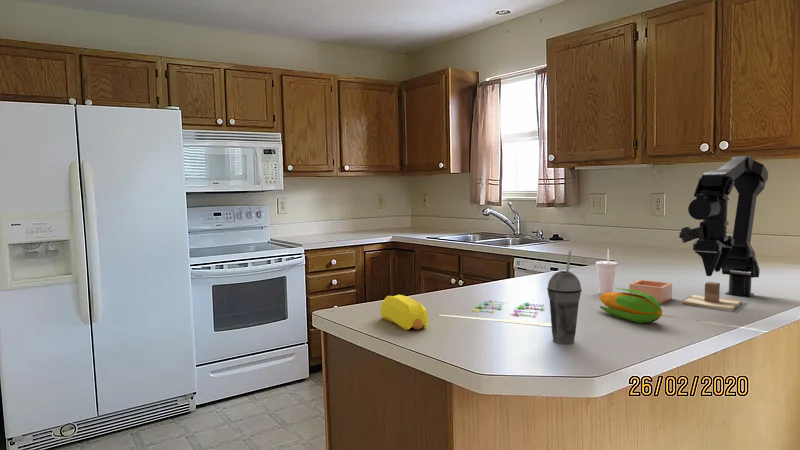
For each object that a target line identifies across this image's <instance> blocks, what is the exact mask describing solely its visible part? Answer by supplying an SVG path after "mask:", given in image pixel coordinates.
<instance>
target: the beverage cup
mask: <svg viewBox="0 0 800 450" xmlns="http://www.w3.org/2000/svg"><path fill="white" fill-rule="evenodd" d="M567 256H568V257H567V263H566V270H561V271H557V272H555V273H554V274H553V275H552V276H551V277H550V278H549V281H548V284H547V288H546V290H547V295H548V299H549V309H550V323H551V326H552V327H551V335H552V342H554V343H556V344H560V345H573V344H574V343H575V338H576V332H577V331H576V330H577V322H578V311H579V302H580V299H581V295H582V291H583V290H582V285H581V282H580V279H579V278H578V276H576V274H575V273H572V272H570V271H569V270H570V263H571V256H572V251H571V250H569V251H568V255H567Z"/></svg>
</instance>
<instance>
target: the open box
mask: <svg viewBox="0 0 800 450" xmlns="http://www.w3.org/2000/svg"><path fill="white" fill-rule="evenodd" d="M628 289H630V290H636V291H641V292H644V293H646V294H648V295H650V296H653V297H655V298H656V299H657V301H658V302H659V303H660V305H662V304H663V305H664V303H666V302H668V301H670V300H672V299H673V283H672V282H665V281H663V282H662V281H655V280H648V279H647V280H646V279H638V280H635V281H633V282H632V283H629V288H628ZM628 293H630V294H635V293H631V292H628ZM635 295H638V294H635ZM640 296H641V295H640Z"/></svg>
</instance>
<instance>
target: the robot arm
mask: <svg viewBox="0 0 800 450" xmlns="http://www.w3.org/2000/svg"><path fill="white" fill-rule="evenodd" d="M768 179H769V171H768V170H767V168H766V167H765V165H764V164H763V163H761V162H759V161H757V160H754V158H753V157H752V156H750V155H740V156H739V155H737V156H733V157H730V160H729V161H727V163H725V164H723V166H721V167H720V168H718V169H716V170H710V171H705V172H704V173H702V174H701V176H700V178H699V180H698V182H697V185H696V188H695V191H694V193H693V197H694V199H693V200H692V201H691V202H690V203H689V205H688V208H687V212H688V214H689V216H690V218H691V217H692V219H694V220H697V221H700V222H699V226H698V227H695V228H691V227H690V226H685V227H682V228H681V230H680V232H678V233H679V235H678V237H679V238H680V239H681V241H682V244H685V243H688V242H691V241H693V240H695V241H694V242H693V243H692V250H693V251H694V253H695V254H698V256H699V257H700V258H701V260H702V264H703V267H704V271H705V275H706V277H712V275H713V273H714V272H716V273H717V272H720V271H721V273H722V275H728V290H727V292H726V293H724V295H728V296H737V297H745V298H750V297H752V296H754V295H755V293H754V292H752V279H754V278H760V277H759V276H760V272H761V271H760V270H761V269H760V265H759V263H758V260H757V259H756V252H755V249H754V248H753V245H751V244H752V243H751V240H752V233H753V226H754V220H755V211H756V204H757V197H758V196H759V195H760V194H761V193H762V192H763V190H764V189H765V186H766V182H768ZM733 188H735V190H736V191H737V193H738V194H737V195H738V197H737V204H736V211H735V217H734V224H733V231H732V236H731V235H728V234H727V232H728V231H727V229H728V228H727V226H729V224H730V223H729V222H730V221H728V201H730V198H729V195H731V192H732V190H733ZM696 239H697V240H696Z"/></svg>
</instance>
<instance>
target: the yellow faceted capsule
mask: <svg viewBox="0 0 800 450" xmlns="http://www.w3.org/2000/svg"><path fill="white" fill-rule="evenodd" d="M380 305H381V306H380V312H379V315H380V316H381V317H382V318H383V319H384V320H385V321H386V320H387V321H389V322H390V323H394V324H396V325H397V326H399V327H400V328H401V329H403V330H404V331H408V330H410V329H411V328H413V329H414V330H421V329H424V328H427V325H428V324H429V317H428V311H427V308H426V307H425V306H424V305H423V304H422V303H420V302H418V301H417V300H415V299H413V298H411V297H409V296H406V295H402V294H396V295H394V296H393V295H387V296H386V297H385V298H384V299H383V300H382V301H381V304H380Z"/></svg>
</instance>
